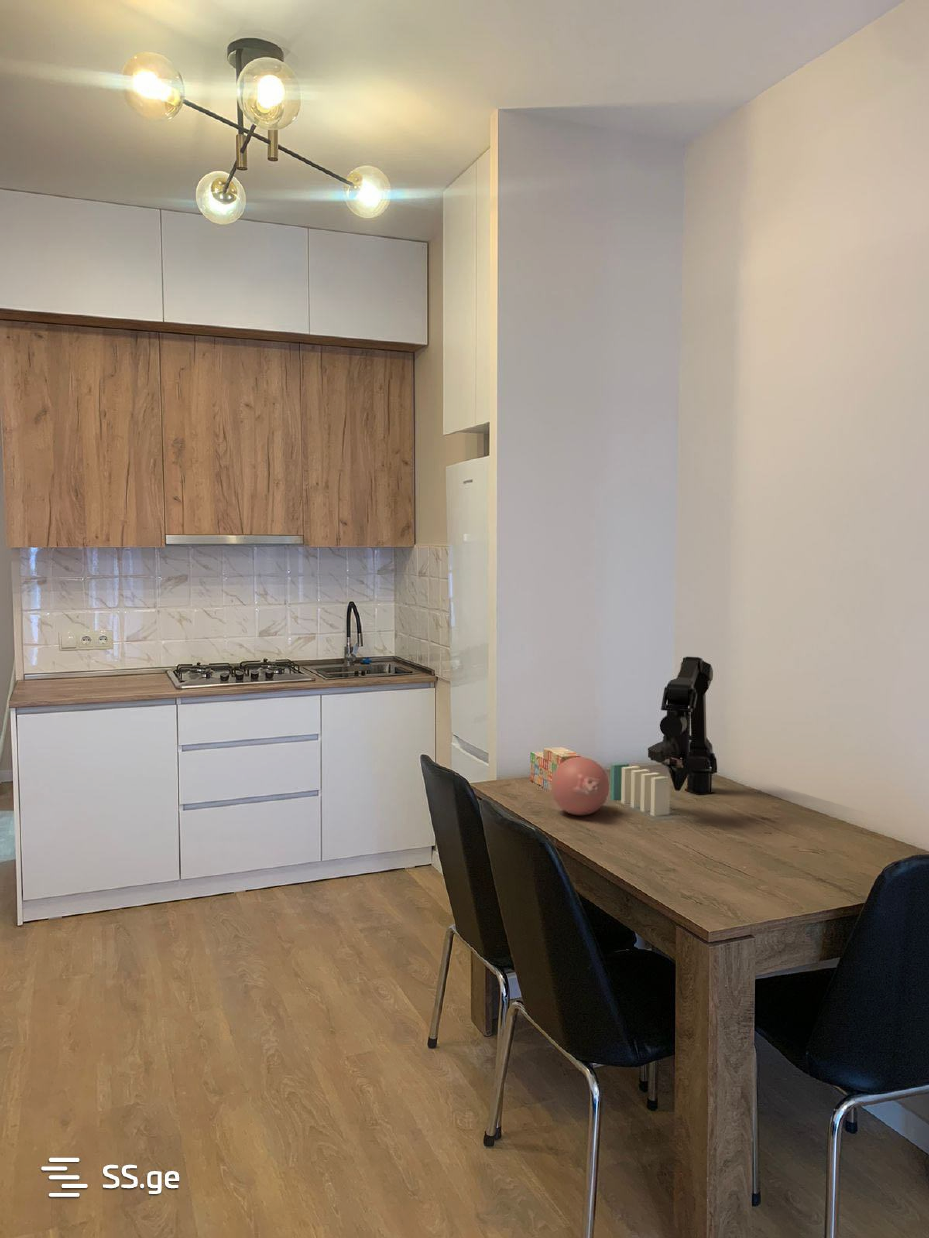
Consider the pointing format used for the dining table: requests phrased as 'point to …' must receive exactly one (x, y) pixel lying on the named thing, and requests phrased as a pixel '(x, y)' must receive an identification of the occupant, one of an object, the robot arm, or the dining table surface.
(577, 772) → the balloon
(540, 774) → the stack of blocks
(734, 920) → the dining table surface
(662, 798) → the domino
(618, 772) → the teal domino
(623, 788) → the domino
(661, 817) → the domino mat
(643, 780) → the domino
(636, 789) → the domino
